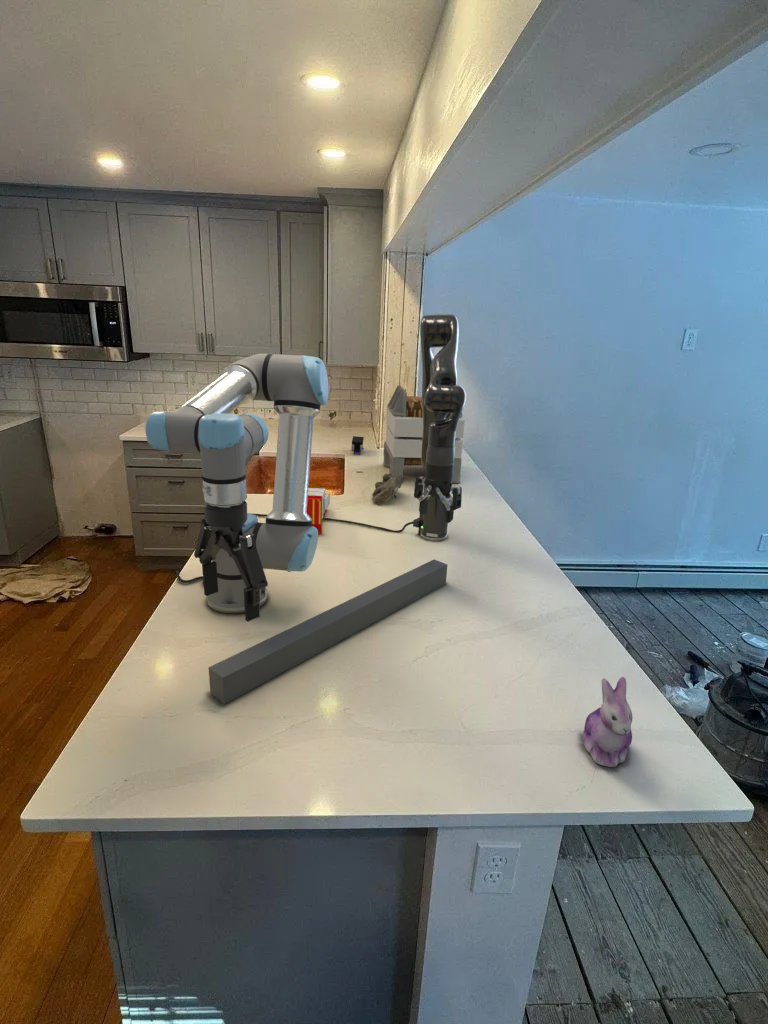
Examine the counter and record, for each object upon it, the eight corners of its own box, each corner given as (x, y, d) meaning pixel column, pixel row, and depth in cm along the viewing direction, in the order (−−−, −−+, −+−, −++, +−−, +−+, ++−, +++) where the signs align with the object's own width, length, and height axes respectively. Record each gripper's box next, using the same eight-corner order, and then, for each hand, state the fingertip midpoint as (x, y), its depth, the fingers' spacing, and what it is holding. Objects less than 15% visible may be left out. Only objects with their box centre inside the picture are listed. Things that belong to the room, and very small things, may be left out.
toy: (331, 483, 220) (325, 497, 191) (330, 517, 223) (325, 535, 194) (299, 482, 220) (289, 496, 190) (299, 516, 223) (289, 534, 193)
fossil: (371, 479, 247) (398, 460, 242) (384, 495, 250) (412, 477, 245) (364, 500, 227) (394, 480, 222) (379, 517, 230) (409, 498, 225)
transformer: (382, 463, 289) (386, 382, 275) (445, 464, 293) (451, 384, 279) (390, 482, 257) (394, 392, 243) (460, 483, 261) (468, 394, 247)
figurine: (610, 778, 98) (627, 706, 93) (567, 739, 106) (580, 672, 101) (647, 760, 102) (665, 691, 97) (603, 725, 110) (617, 659, 105)
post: (432, 578, 168) (434, 559, 166) (445, 583, 165) (447, 564, 163) (210, 693, 114) (208, 667, 112) (224, 704, 111) (222, 678, 109)
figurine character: (363, 457, 303) (363, 448, 316) (363, 444, 300) (364, 435, 313) (350, 457, 303) (351, 447, 316) (351, 444, 299) (352, 434, 313)
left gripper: (170, 489, 107) (179, 589, 114) (249, 524, 92) (254, 638, 99) (205, 482, 113) (211, 578, 120) (286, 514, 97) (288, 622, 104)
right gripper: (410, 458, 152) (406, 514, 158) (454, 469, 144) (448, 528, 149) (427, 453, 158) (423, 508, 163) (470, 464, 149) (464, 521, 154)
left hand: (231, 605), depth 109 cm, fingers open, 13 cm apart
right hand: (435, 518), depth 156 cm, fingers open, 8 cm apart
